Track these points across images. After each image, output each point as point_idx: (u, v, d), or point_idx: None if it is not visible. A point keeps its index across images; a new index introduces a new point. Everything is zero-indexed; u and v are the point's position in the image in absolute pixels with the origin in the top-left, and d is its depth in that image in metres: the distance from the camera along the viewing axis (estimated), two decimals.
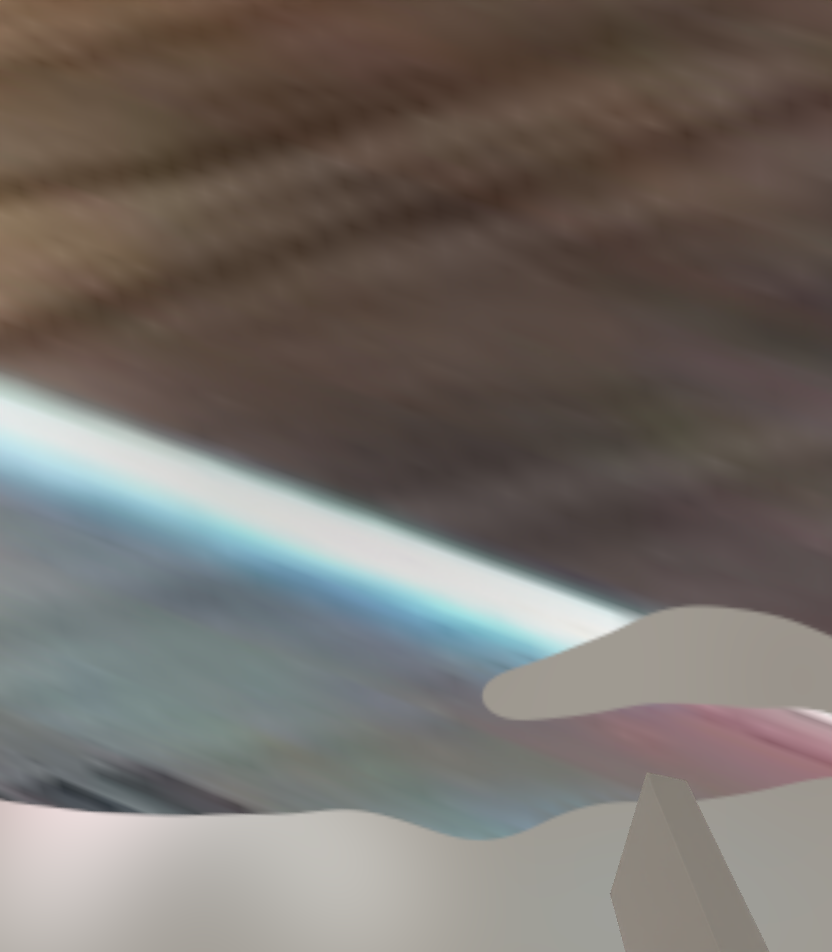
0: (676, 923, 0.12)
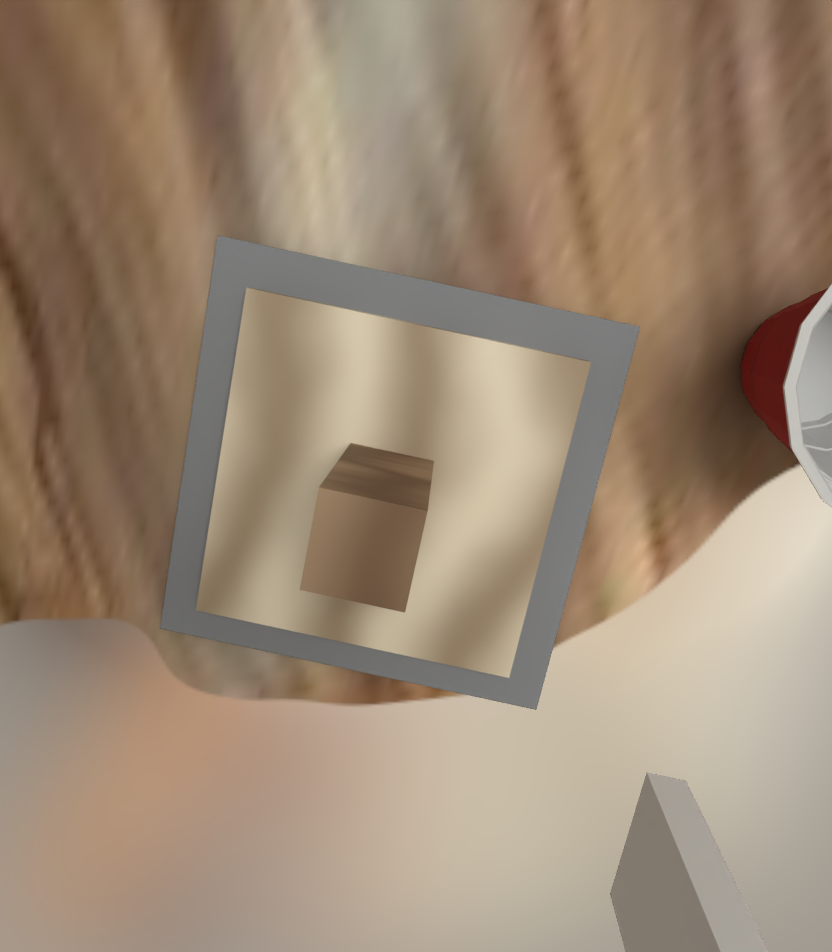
0: (676, 922, 0.12)
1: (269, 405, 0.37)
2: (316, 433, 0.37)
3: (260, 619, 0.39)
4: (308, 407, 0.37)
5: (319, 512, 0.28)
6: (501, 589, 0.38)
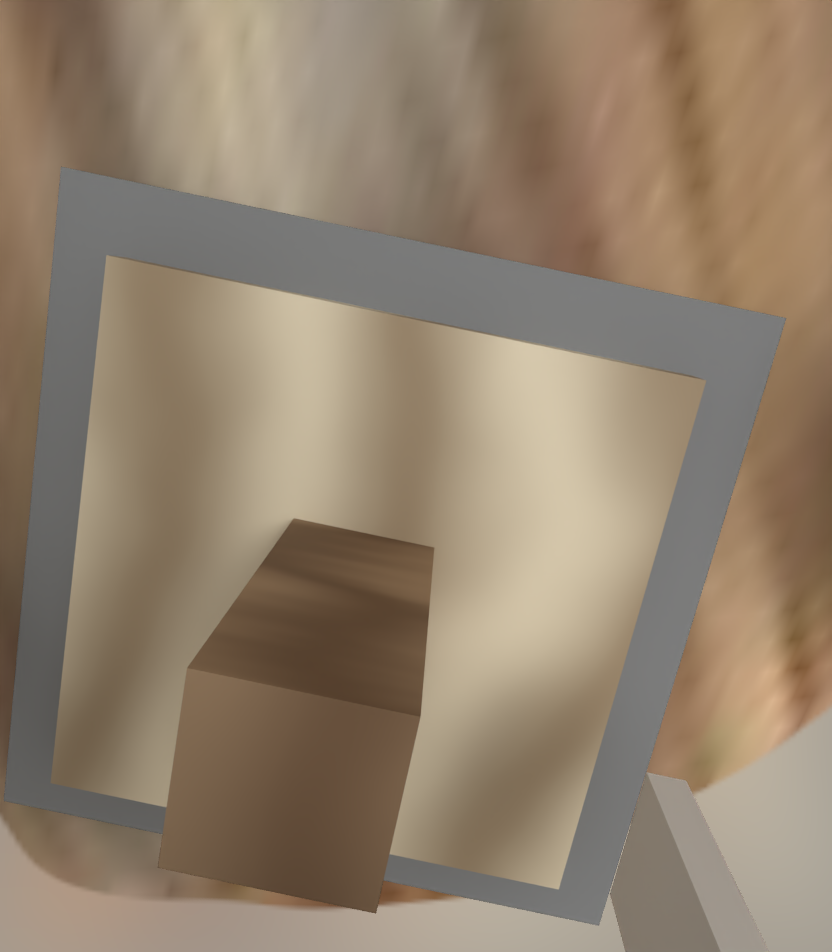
0: (675, 923, 0.12)
1: (154, 456, 0.22)
2: (236, 502, 0.22)
3: (154, 798, 0.24)
4: (221, 458, 0.22)
5: (191, 718, 0.13)
6: (547, 753, 0.23)
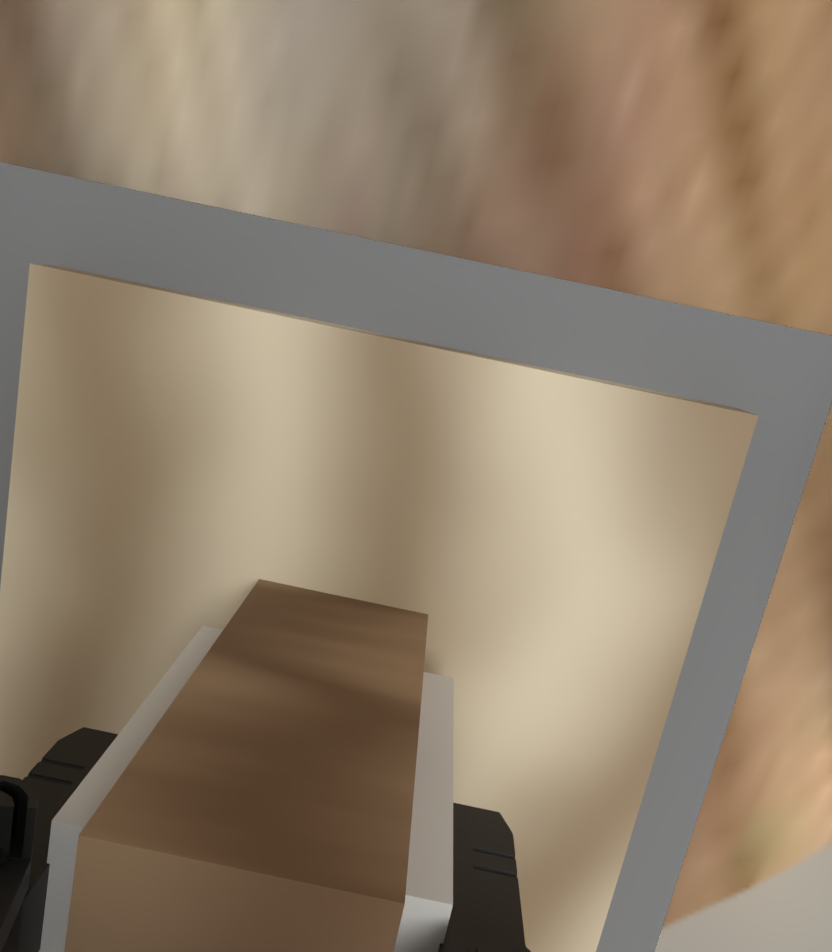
0: None
1: (91, 505, 0.18)
2: (189, 559, 0.18)
3: None
4: (171, 508, 0.18)
5: (86, 901, 0.10)
6: (564, 858, 0.19)
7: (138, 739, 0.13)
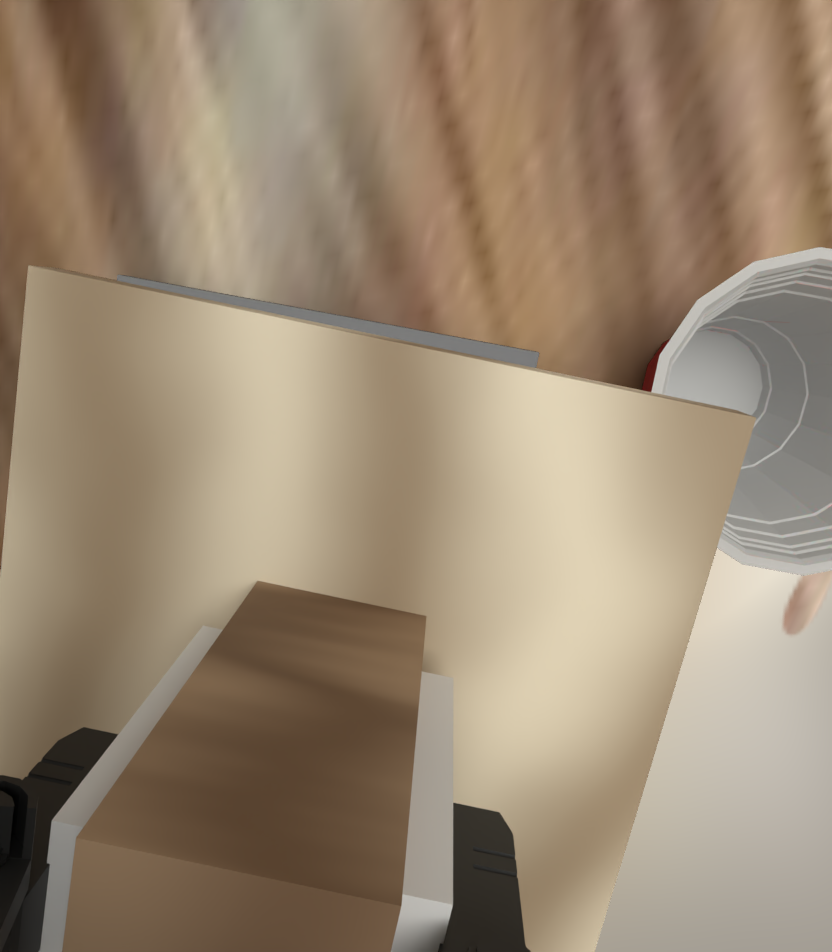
0: None
1: (90, 506, 0.18)
2: (188, 561, 0.18)
3: None
4: (170, 509, 0.18)
5: (83, 903, 0.10)
6: (562, 859, 0.19)
7: (138, 739, 0.13)
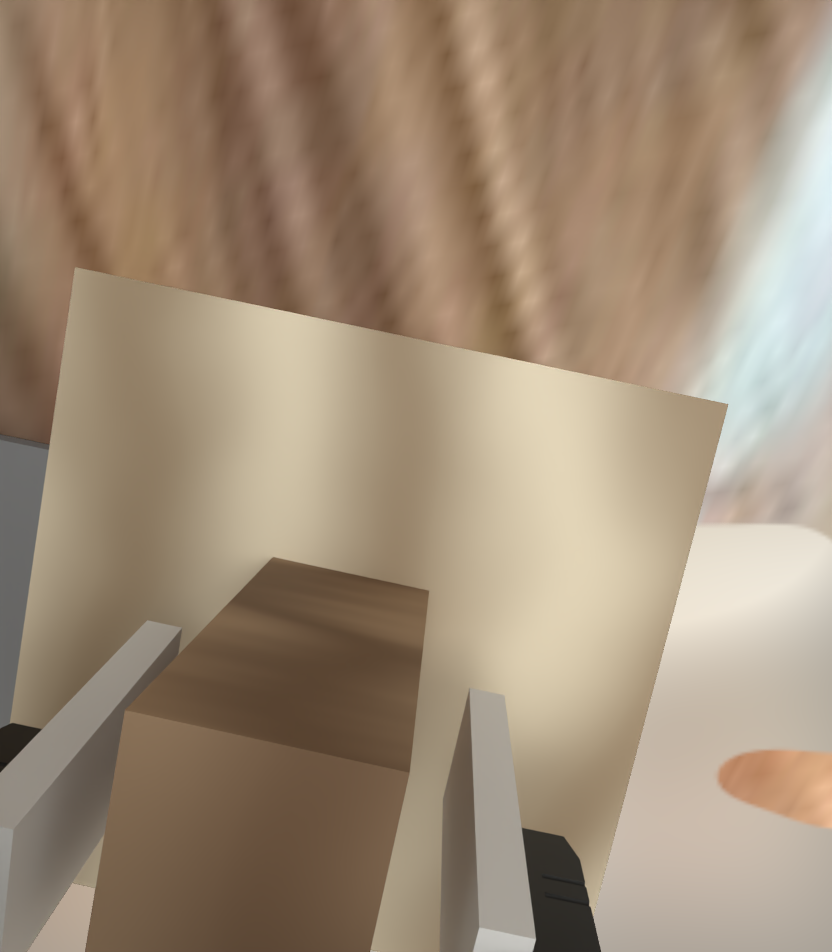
0: (462, 803, 0.14)
1: (120, 487, 0.20)
2: (209, 539, 0.20)
3: None
4: (194, 490, 0.20)
5: (128, 773, 0.11)
6: (558, 831, 0.20)
7: (61, 735, 0.12)
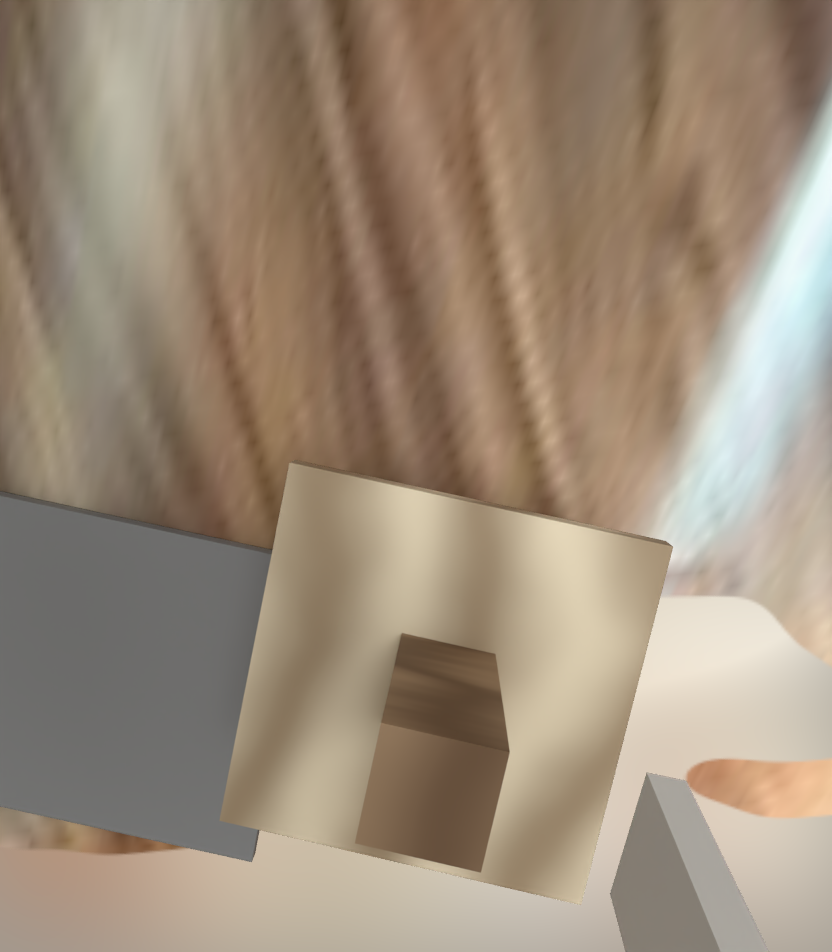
0: (676, 923, 0.12)
1: (311, 590, 0.33)
2: (363, 622, 0.33)
3: (292, 832, 0.34)
4: (355, 592, 0.33)
5: (380, 752, 0.24)
6: (572, 801, 0.33)
7: None
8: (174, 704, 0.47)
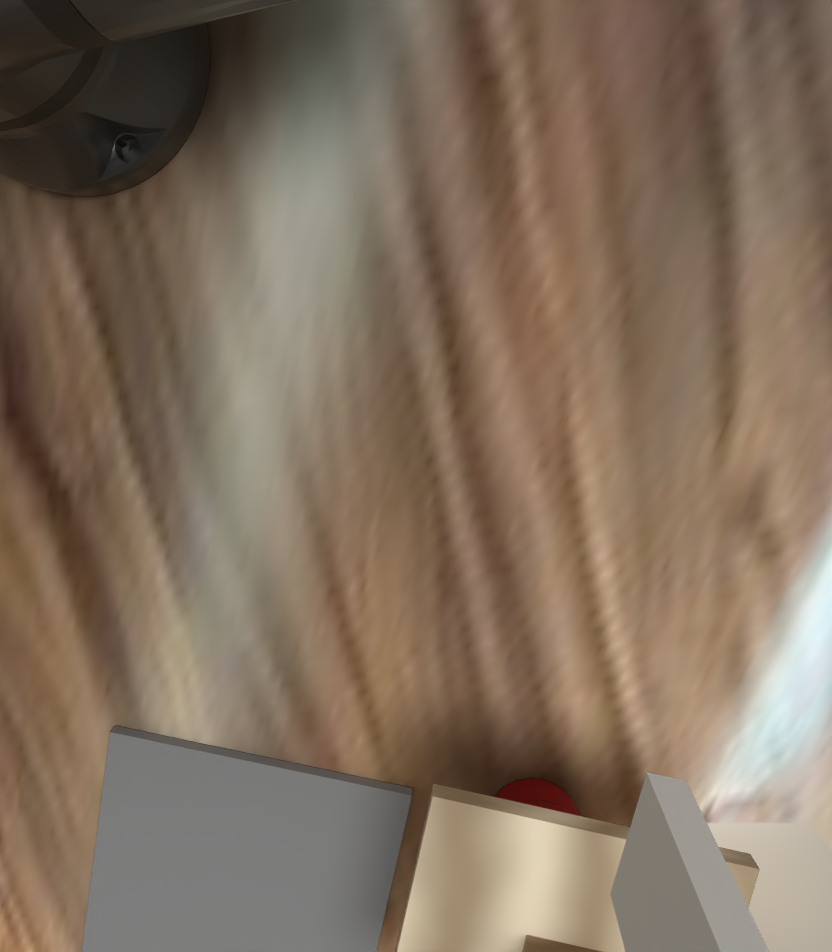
0: (675, 923, 0.12)
1: (449, 899, 0.39)
2: (493, 925, 0.39)
3: None
4: (487, 901, 0.39)
5: None
6: None
7: None
8: (289, 911, 0.53)
